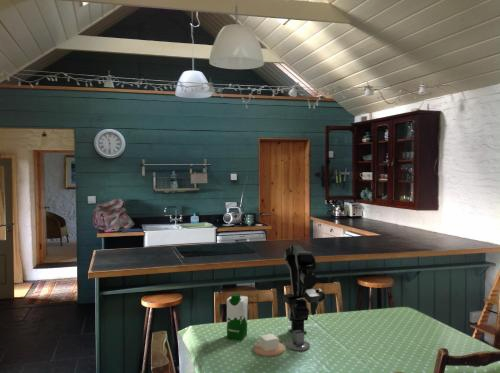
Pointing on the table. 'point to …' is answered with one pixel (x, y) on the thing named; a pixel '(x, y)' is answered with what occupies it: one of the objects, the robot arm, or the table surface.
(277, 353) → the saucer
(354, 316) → the table surface
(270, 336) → the cream colored cube
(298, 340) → the grey rounded piece
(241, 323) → the milk carton
